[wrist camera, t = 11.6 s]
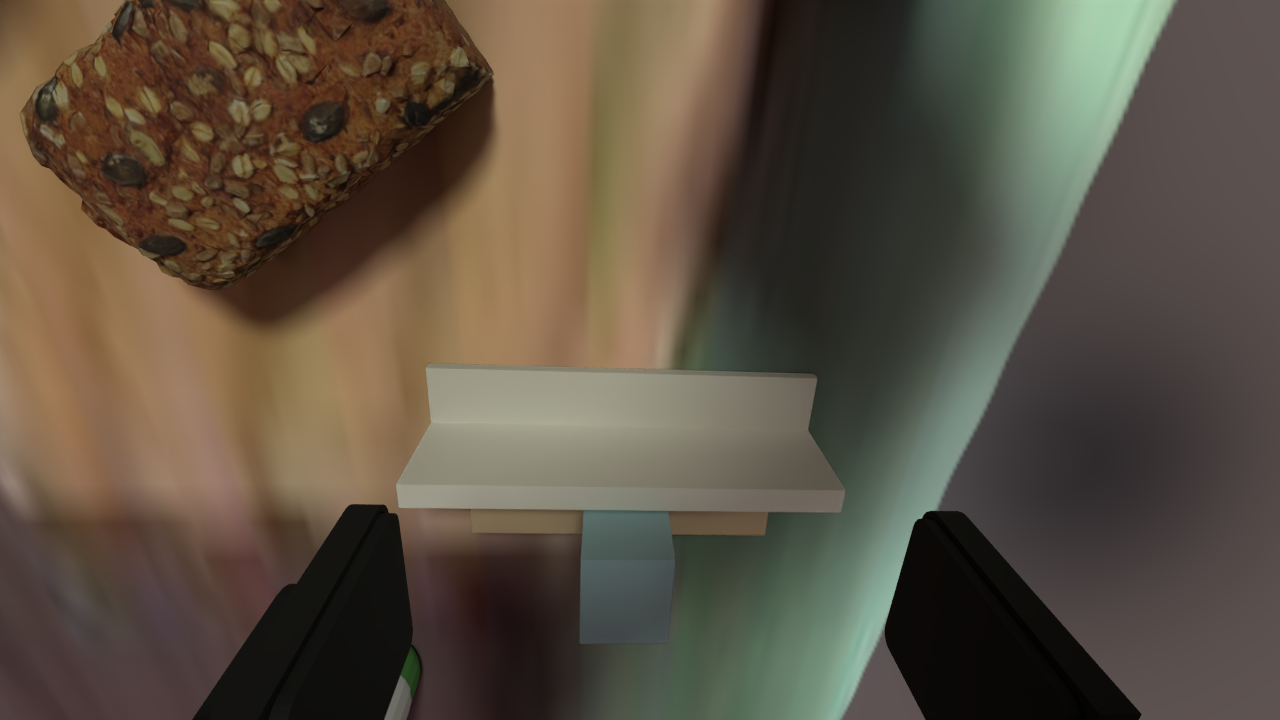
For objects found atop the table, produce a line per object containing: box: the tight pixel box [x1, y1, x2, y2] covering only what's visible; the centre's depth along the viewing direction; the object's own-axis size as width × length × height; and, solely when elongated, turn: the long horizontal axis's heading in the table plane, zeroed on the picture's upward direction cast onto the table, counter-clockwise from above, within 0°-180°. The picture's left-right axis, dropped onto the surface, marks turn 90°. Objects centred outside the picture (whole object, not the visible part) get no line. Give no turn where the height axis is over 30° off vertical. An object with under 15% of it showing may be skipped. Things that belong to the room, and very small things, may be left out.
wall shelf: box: [396, 363, 846, 535], centre depth 38 cm, size 11×26×8 cm, turn 87°
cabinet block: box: [580, 510, 675, 644], centre depth 36 cm, size 7×5×8 cm
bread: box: [20, 0, 494, 290], centre depth 28 cm, size 19×11×10 cm, turn 124°
